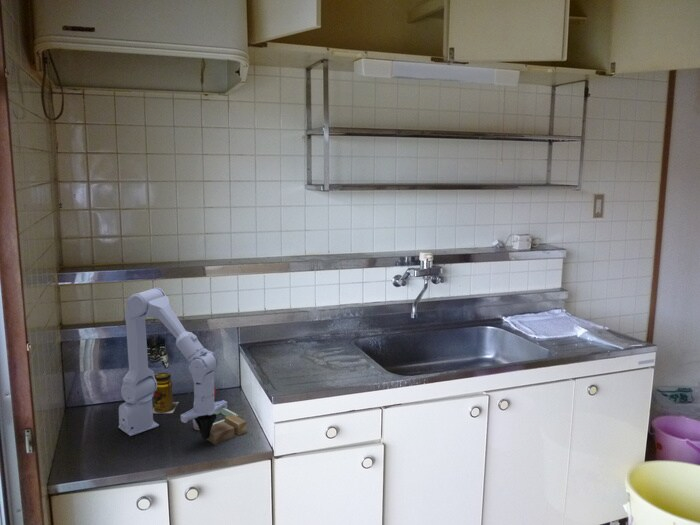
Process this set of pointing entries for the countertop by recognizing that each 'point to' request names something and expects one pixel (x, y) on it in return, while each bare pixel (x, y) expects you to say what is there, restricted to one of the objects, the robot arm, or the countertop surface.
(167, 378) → the condiment
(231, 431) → the tan cardboard block
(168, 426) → the countertop surface
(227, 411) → the corral
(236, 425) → the block
